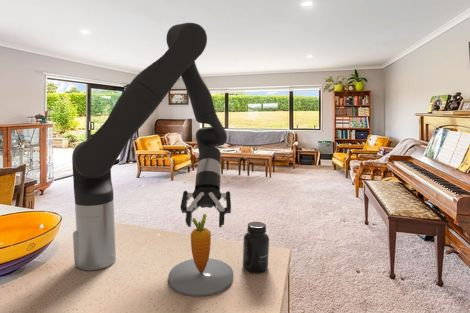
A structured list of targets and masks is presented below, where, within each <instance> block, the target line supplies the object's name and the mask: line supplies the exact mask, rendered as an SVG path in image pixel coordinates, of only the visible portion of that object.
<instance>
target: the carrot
mask: <svg viewBox="0 0 470 313" xmlns="http://www.w3.org/2000/svg"><path fill="white" fill-rule="evenodd" d="M206 220H207V214H206V213H203V214H202V218H201V220H200V221H197V219H196V218H195V217H192V221H191V222H192V223H193V224H194V226H195V227H196V228H195V229H194V228H193V229H192V232H191V233H190V247H191V248H190V250H191V254H192V259H194V263H195V265H196V267H197V269H198V271H199V272H200V273H202V272H204V270H205V267H206V265H207V262H208V259H209V257H210V253H211V245H212V244H211V241H212V240H211V239H212V236H211V230H209V229H208V228H207V227H206V228H205V225H206Z"/></svg>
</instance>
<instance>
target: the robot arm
mask: <svg viewBox="0 0 470 313" xmlns="http://www.w3.org/2000/svg"><path fill="white" fill-rule="evenodd" d="M207 42H208V36H207V32H206V30H205V28H204V27H203V26H202V25H200V24H198V23H196V22H183V23H179V24H174V25H172V26H171V27H170V28H168V30H167V33H166V44H167V47H168V49H167V50H166V51H165V53H164V54H163V55H162V56H160V57H159V58H158V59H156V60H155V61H154V62H152V63H151V64H150V65H148V66H146V67H145V68H144V69H142V71H141V72H139V73H138V74H137V75H136V76H135V77H134V78H133V79H132V81H130V83H129V84H128V85H127V86H126V88H125V89H124V90H123V92H122V93H121V94H120V96H118V98H117V100H116V103H115V104H114V105H113V108H112V110H111V111H110V113H109V115H108V117H107V119H106V120H105V121H104V123H103V124H102V125H101V126H100V127H99V128H98V129H97V130H96V132H94V134H92V136H91V137H90V138H89V139H88V140H84V141H82V142H80V143H79V144H77V145H76V146H75V147H74V150H73V151H72V157H71V158H72V159H71V163H72V177H73V178H72V179H73V194H74V207H75V209H74V210H75V228H76V229H75V230H74V231H73V232H72V238H73V240H72V241H73V256H74V257H73V258H74V268H79V269H80V270H82V271H83V270H84V271H97V270H101V269H105V268H108V267H109V266H111V265H113V264H114V263H115V261H116V259H117V257H116V253H117V252H116V230H115V229H116V227H115V204H114V201H115V200H114V188H113V182H112V167H113V166H114V165H115V163H116V161H117V159H118V158H119V156H120V155H121V154H122V153H123V150H124V149H125V147H126V145H127V144H128V143H129V141H130V139H131V138H132V137H133V136H134V135H135V134H136V133H137V132H138V130H140V128H141V127H142V126H143V125H144V124H145V123H146V122H147V120H149V118H150V116H152V114H153V113H154V112H155V110H156V109H157V108H158V107H159V106H160V104H161V103H162V102H163V100H164V99H165V97H166V96H167V94H169V92H170V91H171V90H172V88H173V87H174V86H175V84H176V83H177V81H178V80H179V79H180V77H181V79H182V81H183V84H184V86H185V89H186V92H187V94H188V98H189V101H190V104H191V107H192V108H191V109H192V111H193V112H192V113H193V116H194V118H195V121H196V122H197V123H199V124H205V125H209V126H207V127H206V126H205V127H201V128H199V129H198V130H197V131H196V132H195V141H196V143H197V147H198V161H197V162H198V163H197V168H196V174H195V184H194V189H193V192H188V190H184V191H182V197H181V202H180V207H179V208H180V211H181V213H182V214H186V215H185V225H186V226H187V227H188V228H191V227H192V222H193V221H192V220H193V213H194V212H195V211H197V210H198V209H199V208H201V209H202V208H209V209H212V208H214V209H215V211H218V213H219V214H218V215H219V216H218V227H219V228H222V226H224V225H225V216H226V215H227V214H231V213H232V202H231V201H232V200H231V199H232V198H231V192H230V191H226V192H221V178H222V176H221V174H222V173H221V172H222V170H221V157H222V155H221V154H222V153H221V150H220V149H219V148H218V147H221V146H224V145H225V144H226V142H227V140H228V134H227V131H226V130H225V128H224V126H223V124H222V123H221V121H220V119H219V117H218V115H217V112H216V109H215V105H214V101H213V97H212V94H211V92H210V91H211V90H210V89H209V88H208V85H207V84H206V82H205V81H204V79H203V78H202V76H201V73H200V72H199V69H198V66H197V65H196V60H197V59H198V58H199V57H200V56H201V55H202V54H203V52H205V49H206V46H207ZM221 198H222V199H223V201H225V202H226V207H224V206H223V205H222V203H221V202H220V200H221ZM191 199H193V200H192V202H191V203H190V205H189V206H187V205H188V201H190V200H191Z"/></svg>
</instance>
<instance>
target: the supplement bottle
mask: <svg viewBox="0 0 470 313" xmlns="http://www.w3.org/2000/svg"><path fill="white" fill-rule="evenodd" d="M246 231H247V232H246V233H245V234H244V235H243V245H242V246H243V248H242V268H243V269H244V271H246V272H248V273H252V274H262V273H264V272H266V271H267V270H268V269H269V268H268V267H269V253H270V236H269V235H268V234H267V233H266V232H267V225H266V223H264V222H262V221H261V222H260V221H251V222H248V224H247V230H246Z"/></svg>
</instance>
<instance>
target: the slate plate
mask: <svg viewBox="0 0 470 313" xmlns="http://www.w3.org/2000/svg"><path fill="white" fill-rule="evenodd" d="M233 281H234V271H233V269H232V267H231V265H230V264H228V263H227V262H224V261H223V260H220V259H215V258H211V257H210V258H209V259H208V262H207V265H206V267H205V270H204V272H202V273H200V272H199V271H198V269H197V267H196V265H195V263H194V259H193V258H191V259H188V260H184V261H182V262H180V263H178V264H176V265H175V266H173V267H172V268H171V269H170V270H169V273H168V284H169V286H170V288H171V289H172V290H173V291H175V292H177V293H179V294H181V295H184V296H189V297H207V296H213V295H216V294H219V293H221V292H223V291H225V290H226V289H228V288H229V287H230V286H231V284H232V283H233Z"/></svg>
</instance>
